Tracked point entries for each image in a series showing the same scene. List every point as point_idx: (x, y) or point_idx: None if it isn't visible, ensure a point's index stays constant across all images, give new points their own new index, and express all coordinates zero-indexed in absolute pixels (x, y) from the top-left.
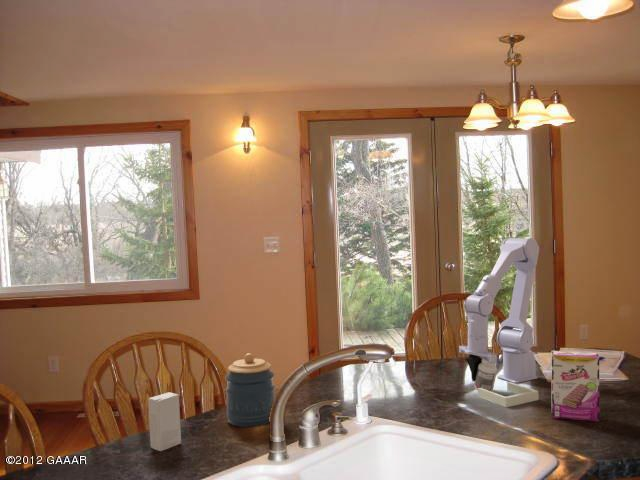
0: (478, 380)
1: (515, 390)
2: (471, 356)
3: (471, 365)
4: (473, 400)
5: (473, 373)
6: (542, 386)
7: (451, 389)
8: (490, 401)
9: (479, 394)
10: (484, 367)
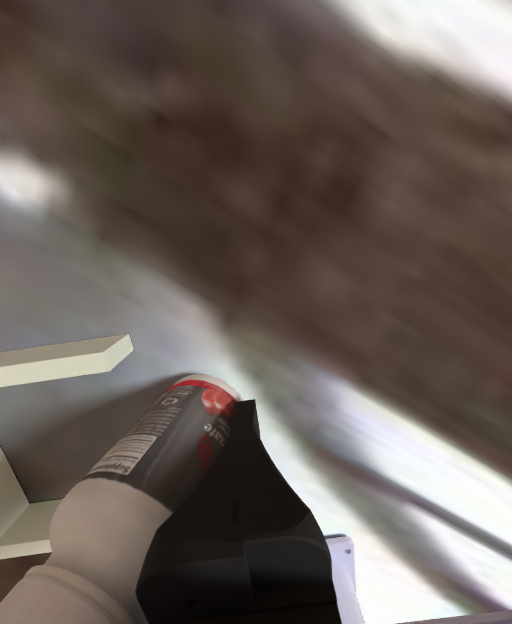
0: (167, 409)
1: None
2: (300, 610)
3: (232, 481)
4: (82, 284)
5: (229, 434)
6: None
7: (299, 282)
8: (39, 347)
9: (107, 341)
10: (69, 533)
